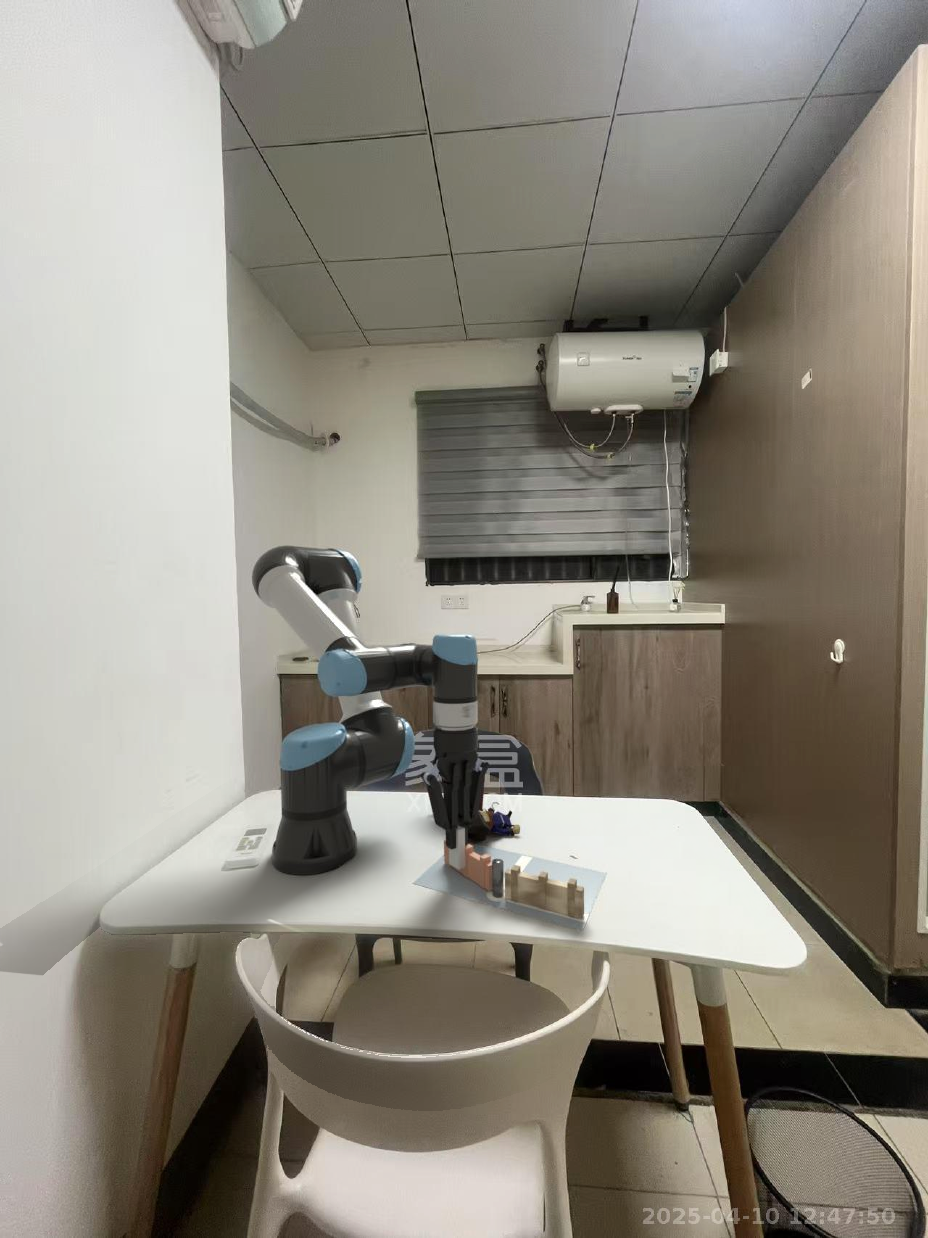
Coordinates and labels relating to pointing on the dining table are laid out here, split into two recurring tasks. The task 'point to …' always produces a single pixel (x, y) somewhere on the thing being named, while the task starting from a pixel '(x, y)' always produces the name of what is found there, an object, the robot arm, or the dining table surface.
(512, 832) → the toy
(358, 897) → the dining table surface
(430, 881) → the card
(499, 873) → the hinge post
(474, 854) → the swing panel
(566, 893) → the fixed panel
